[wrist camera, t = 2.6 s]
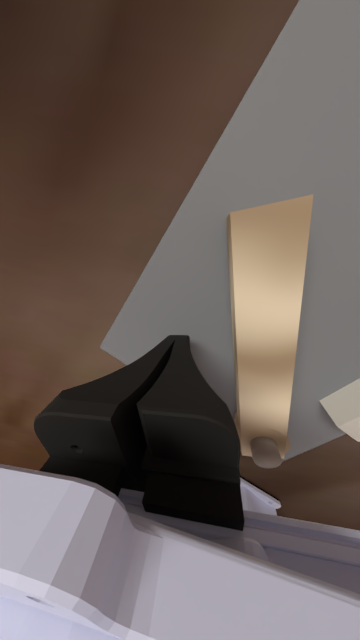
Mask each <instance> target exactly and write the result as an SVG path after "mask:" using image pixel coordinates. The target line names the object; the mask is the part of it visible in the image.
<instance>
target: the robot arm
mask: <svg viewBox="0 0 360 640" xmlns="http://www.w3.org/2000/svg"><path fill="white" fill-rule="evenodd" d="M34 430H35V432H36V434H37V437H38V438H39V440H40V441H41V443H42V444H43V446H44V447H45V449H46V450H47V452H48V454H49V455H50V457H49V459H48V460H47V461H46V463H45V464H44V465H43V467H42V468H41V469H40V471H36V470H31V469H25V468H19V467H14V466H8V465H2V464H0V640H360V531H359V530H353V529H348V528H342V527H337V526H331V525H325V524H320V523H314V522H309V521H303V520H297V519H292V518H286V517H281V516H277V513H276V509H278V508H280V507H281V504H280V502H279V501H278V500H276V499H275V498H273V497H271V496H270V495H268V494H267V493H265V492H263V491H262V490H260V489H258V488H257V487H255V486H253V485H252V484H250V483H248V482H247V481H245V480H244V479H242V478H240V473H239V459H240V450H241V446H240V439H239V435H238V432H237V428H236V426H235V423H234V420H233V418H232V415H231V413H230V411H229V409H228V406H227V404H226V403H225V402H224V401H223V400H222V399H221V398H220V397H219V396H218V395H217V394H216V393H215V392H214V390H213V389H212V388H211V387H210V386H209V384H208V383H207V381H206V380H205V379H204V377H203V376H202V374H201V373H200V371H199V369H198V367H197V365H196V363H195V361H194V359H193V356H192V354H191V350H190V337H189V336H188V335H169V336H167V337H166V338H165V339H164V340H163V341H161V342H160V343H159V344H158V345H157V346H155V347H154V348H153V349H152V350H150V351H149V352H147V353H146V354H145V355H143V356H142V357H140V358H139V359H137V360H136V361H134V362H132V363H131V364H129V365H127V366H125V367H123V368H121V369H119V370H117V371H115V372H113V373H111V374H109V375H107V376H104V377H102V378H99V379H97V380H94V381H91V382H89V383H86V384H83V385H80V386H76V387H73V388H70V389H67V390H63V391H62V392H61V393H60V394H59V395H58V396H57V397H56V398H55V399H54V400H53V401H52V402H51V403H50V404H49V405H48V406H47V407H46V408H45V409H44V410H43V411H42V412H41V413H40V414H39V415H38V416H37V417H36V418H35V421H34Z"/></svg>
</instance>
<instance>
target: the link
mask: <svg viewBox="0 0 360 640" xmlns="http://www.w3.org/2000/svg"><path fill="white" fill-rule="evenodd" d="M313 195H314V194H312V195H308V196H303V197H298V198H294V199H289V200H285V201H280V202H276V203H271V204H267V205H262V206H257V207H253V208H248V209H244V210H239V211H235V212H230V214H229V215H228V217H227V218H226V230H227V248H228V265H229V282H230V299H231V317H232V334H233V351H234V369H235V386H236V403H237V411H236V412H235V414H234V423H235V426H236V428H237V432H238V435H239V439H240V446H241V452H242V456H250V457H253V461H254V463H255V464H256V465H258V466H260V467H263V468H275V467H278V466H279V465H281V463H282V459H281V458H283V459H284V457H285V454H286V453H287V452H288V451H289V449H290V441H289V438H288V436H287V430H288V421H289V412H290V403H291V394H292V385H293V376H294V367H295V358H296V349H297V340H298V331H299V322H300V313H301V304H302V295H303V285H304V276H305V267H306V258H307V249H308V240H309V231H310V222H311V213H312V204H313Z"/></svg>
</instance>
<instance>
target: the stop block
mask: <svg viewBox="0 0 360 640" xmlns="http://www.w3.org/2000/svg"><path fill="white" fill-rule="evenodd" d="M320 403H321V404H322V406H323V407H324V409H325V410H326V411H327V413H328V414H329V416H330V417H331V419H332V420H333V421H334V423H335V424H336V426H337V427H338V428H340V429H341V430H342V431H344V432H345V433H347V434H348V435H349V436H351V437H352V438H353V439H355V440H356V441H358V442H360V378H359V379H357V380H356V381H354V382H352V383H350V384H348V385H347V386H345V387H343V388H341V389H339V390H338V391H336V392H334V393H332V394H330V395H329V396H327V397H325V398H323V399H322V400H320Z"/></svg>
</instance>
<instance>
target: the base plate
mask: <svg viewBox="0 0 360 640" xmlns="http://www.w3.org/2000/svg"><path fill="white" fill-rule="evenodd" d="M312 194H314V195H313V204H312V213H311V222H310V231H309V240H308V249H307V258H306V267H305V276H304V285H303V295H302V304H301V313H300V322H299V331H298V340H297V349H296V358H295V367H294V376H293V385H292V394H291V403H290V412H289V421H288V430H287V436H288V438H289V441H290V449H289V451H288V452H287V453H286V454H285V457H284V459H283V458H281V459H282V462H283V461H285V460H287V459H289V458H292V457H294V456H296V455H299V454H301V453H303V452H306V451H308V450H310V449H312V448H315V447H317V446H319V445H322V444H324V443H326V442H328V441H331V440H333V439H335V438H338V437H340V436H342V435H344V434H347V433H345V432H344V431H342V430H341V429H340V428H338V427H337V426H336V424H335V423H334V421H333V420H332V419H331V417H330V416H329V414H328V413H327V411H326V410H325V409H324V407H323V406H322V404H321V403H320V400H322V399H323V398H325V397H327V396H329V395H330V394H332V393H334V392H336V391H338V390H339V389H341V388H343V387H345V386H347V385H348V384H350V383H352V382H354V381H356V380H357V379H359V378H360V0H299V2H298V4H297V5H296V7H295V9H294V11H293V12H292V14H291V16H290V18H289V19H288V21H287V23H286V24H285V26H284V28H283V30H282V31H281V33H280V35H279V37H278V38H277V40H276V42H275V44H274V45H273V47H272V49H271V50H270V52H269V54H268V56H267V57H266V59H265V61H264V63H263V64H262V66H261V68H260V70H259V71H258V73H257V75H256V77H255V78H254V80H253V82H252V83H251V85H250V87H249V89H248V90H247V92H246V94H245V96H244V97H243V99H242V101H241V103H240V104H239V106H238V108H237V110H236V111H235V113H234V115H233V116H232V118H231V120H230V122H229V123H228V125H227V127H226V129H225V130H224V132H223V134H222V136H221V137H220V139H219V141H218V143H217V144H216V146H215V148H214V149H213V151H212V153H211V155H210V156H209V158H208V160H207V162H206V163H205V165H204V167H203V169H202V170H201V172H200V174H199V175H198V177H197V179H196V181H195V182H194V184H193V186H192V188H191V189H190V191H189V193H188V195H187V196H186V198H185V200H184V202H183V203H182V205H181V207H180V208H179V210H178V212H177V214H176V215H175V217H174V219H173V221H172V222H171V224H170V226H169V228H168V229H167V231H166V233H165V235H164V236H163V238H162V240H161V241H160V243H159V245H158V247H157V248H156V250H155V252H154V254H153V255H152V257H151V259H150V261H149V262H148V264H147V266H146V268H145V269H144V271H143V273H142V274H141V276H140V278H139V280H138V281H137V283H136V285H135V287H134V288H133V290H132V292H131V294H130V295H129V297H128V299H127V301H126V302H125V304H124V306H123V307H122V309H121V311H120V313H119V314H118V316H117V318H116V320H115V321H114V323H113V325H112V327H111V328H110V330H109V332H108V333H107V335H106V337H105V339H104V340H103V342H102V344H101V346H100V348H101V349H103V350H104V351H106V352H107V353H109V354H111V355H112V356H114V357H115V358H117V359H118V360H120V361H121V362H123V363H124V364H126V365H129V364H131V363H132V362H134V361H136V360H137V359H139V358H140V357H142V356H143V355H145V354H146V353H147V352H149V351H150V350H152V349H153V348H154V347H155V346H157V345H158V344H159V343H160V342H161V341H163V340H164V339H165V338H166V337H167V336H169V335H188V336H189V337H190V350H191V354H192V356H193V359H194V361H195V363H196V365H197V367H198V369H199V371H200V373H201V374H202V376H203V377H204V379H205V380H206V381H207V383H208V384H209V386H210V387H211V388H212V389H213V390H214V392H215V393H216V394H217V395H218V396H219V397H220V398H221V399H222V400H223V401H224V402H225V403H226V404H227V406H228V409H229V411H230V413H231V415H232V418H233V420H234V414H235V412H236V411H237V403H236V386H235V369H234V351H233V334H232V317H231V299H230V282H229V265H228V248H227V230H226V218H227V217H228V215H229V214H230V212H235V211H239V210H244V209H248V208H253V207H257V206H262V205H267V204H271V203H276V202H280V201H285V200H289V199H294V198H298V197H303V196H308V195H312Z"/></svg>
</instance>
